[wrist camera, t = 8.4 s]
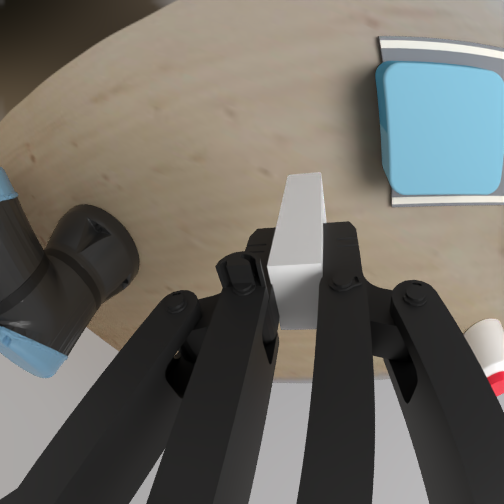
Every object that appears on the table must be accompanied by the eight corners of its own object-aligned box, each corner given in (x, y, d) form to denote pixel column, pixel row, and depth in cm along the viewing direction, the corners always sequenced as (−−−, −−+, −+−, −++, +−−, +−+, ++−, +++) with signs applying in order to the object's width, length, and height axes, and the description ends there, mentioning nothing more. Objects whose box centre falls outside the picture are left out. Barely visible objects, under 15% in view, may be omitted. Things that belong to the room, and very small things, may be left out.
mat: (391, 205, 32) (392, 207, 31) (378, 36, 22) (379, 36, 21) (527, 203, 26) (529, 205, 26) (536, 56, 16) (538, 57, 16)
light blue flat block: (381, 177, 30) (482, 177, 26) (389, 196, 26) (499, 196, 23) (372, 60, 23) (484, 68, 20) (381, 62, 19) (506, 73, 16)
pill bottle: (489, 311, 37) (509, 369, 28) (507, 328, 38) (524, 382, 29) (454, 338, 42) (465, 396, 33) (474, 353, 43) (486, 406, 34)
